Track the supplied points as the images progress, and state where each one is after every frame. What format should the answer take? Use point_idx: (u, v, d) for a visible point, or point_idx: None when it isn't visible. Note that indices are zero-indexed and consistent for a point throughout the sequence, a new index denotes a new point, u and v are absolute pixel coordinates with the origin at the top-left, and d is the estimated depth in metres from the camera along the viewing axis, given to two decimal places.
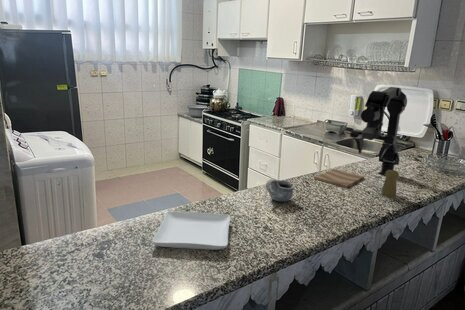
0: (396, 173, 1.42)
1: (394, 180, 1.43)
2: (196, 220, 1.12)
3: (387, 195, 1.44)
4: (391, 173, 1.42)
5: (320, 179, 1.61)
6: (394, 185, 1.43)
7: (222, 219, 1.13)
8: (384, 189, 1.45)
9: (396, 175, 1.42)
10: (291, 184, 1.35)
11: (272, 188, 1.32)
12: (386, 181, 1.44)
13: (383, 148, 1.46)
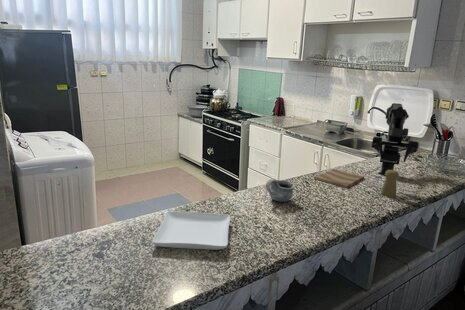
0: (396, 173, 1.42)
1: (394, 180, 1.43)
2: (196, 220, 1.12)
3: (387, 195, 1.44)
4: (391, 173, 1.42)
5: (320, 179, 1.61)
6: (394, 185, 1.43)
7: (222, 219, 1.13)
8: (384, 189, 1.45)
9: (396, 175, 1.42)
10: (291, 184, 1.35)
11: (272, 188, 1.32)
12: (386, 181, 1.44)
13: (407, 151, 1.49)
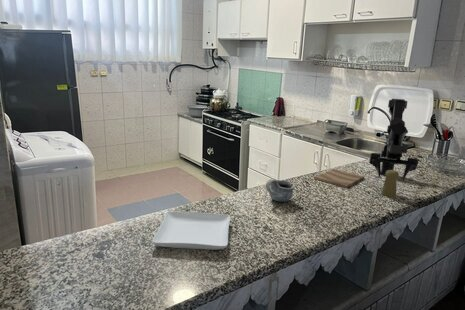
0: (396, 173, 1.42)
1: (394, 180, 1.43)
2: (196, 220, 1.12)
3: (387, 195, 1.44)
4: (391, 173, 1.42)
5: (320, 179, 1.61)
6: (394, 185, 1.43)
7: (222, 219, 1.13)
8: (384, 189, 1.45)
9: (396, 175, 1.42)
10: (291, 184, 1.35)
11: (272, 188, 1.32)
12: (386, 181, 1.44)
13: (407, 169, 1.43)
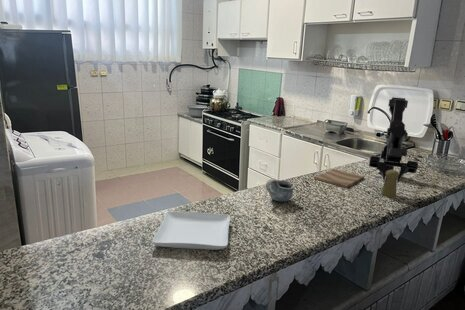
0: (396, 173, 1.42)
1: (394, 180, 1.43)
2: (196, 220, 1.12)
3: (387, 195, 1.44)
4: (391, 173, 1.42)
5: (320, 179, 1.61)
6: (394, 185, 1.43)
7: (222, 219, 1.13)
8: (384, 189, 1.45)
9: (396, 175, 1.42)
10: (291, 184, 1.35)
11: (272, 188, 1.32)
12: (386, 181, 1.44)
13: (401, 171, 1.43)
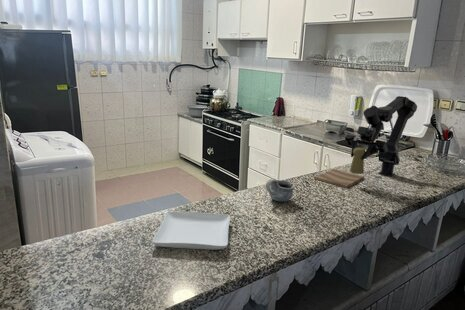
0: (360, 150, 1.50)
1: (359, 157, 1.51)
2: (196, 220, 1.12)
3: (352, 171, 1.53)
4: (356, 150, 1.51)
5: (320, 179, 1.61)
6: (359, 162, 1.51)
7: (222, 219, 1.13)
8: (351, 165, 1.54)
9: (360, 152, 1.50)
10: (291, 184, 1.35)
11: (272, 188, 1.32)
12: (353, 158, 1.54)
13: (368, 150, 1.50)
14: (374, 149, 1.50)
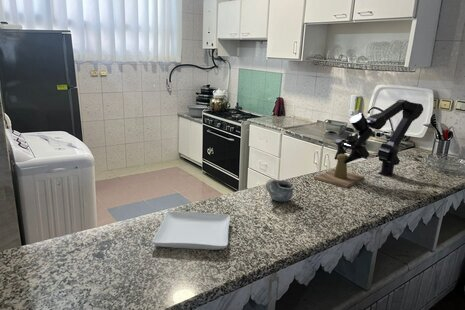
0: (342, 156, 1.60)
1: (340, 162, 1.61)
2: (196, 220, 1.12)
3: (334, 175, 1.64)
4: (338, 155, 1.61)
5: (320, 179, 1.61)
6: (340, 167, 1.61)
7: (222, 219, 1.13)
8: (335, 170, 1.65)
9: (341, 158, 1.60)
10: (291, 184, 1.35)
11: (272, 188, 1.32)
12: (337, 163, 1.64)
13: (351, 154, 1.58)
14: (357, 154, 1.57)
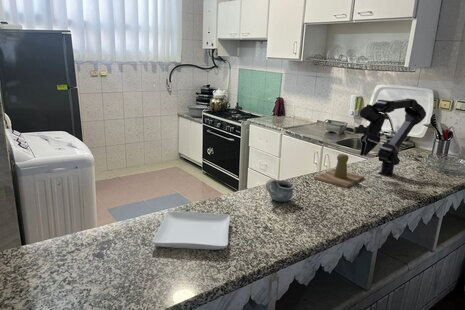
0: (342, 156, 1.60)
1: (341, 162, 1.61)
2: (196, 220, 1.12)
3: (334, 175, 1.64)
4: (338, 156, 1.61)
5: (320, 179, 1.61)
6: (340, 167, 1.61)
7: (222, 219, 1.13)
8: (335, 170, 1.65)
9: (341, 158, 1.60)
10: (291, 184, 1.35)
11: (272, 188, 1.32)
12: (337, 163, 1.64)
13: (365, 145, 1.59)
14: (371, 142, 1.57)
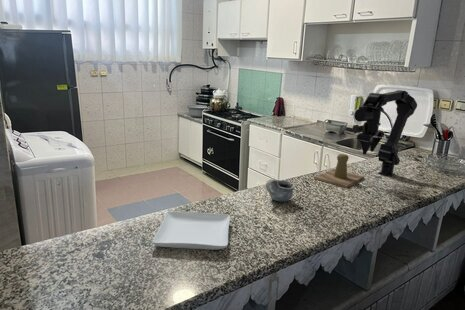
0: (342, 156, 1.60)
1: (341, 162, 1.61)
2: (196, 220, 1.12)
3: (334, 175, 1.64)
4: (338, 156, 1.61)
5: (320, 179, 1.61)
6: (340, 167, 1.61)
7: (222, 219, 1.13)
8: (335, 170, 1.65)
9: (341, 158, 1.60)
10: (291, 184, 1.35)
11: (272, 188, 1.32)
12: (337, 163, 1.64)
13: None
14: None
